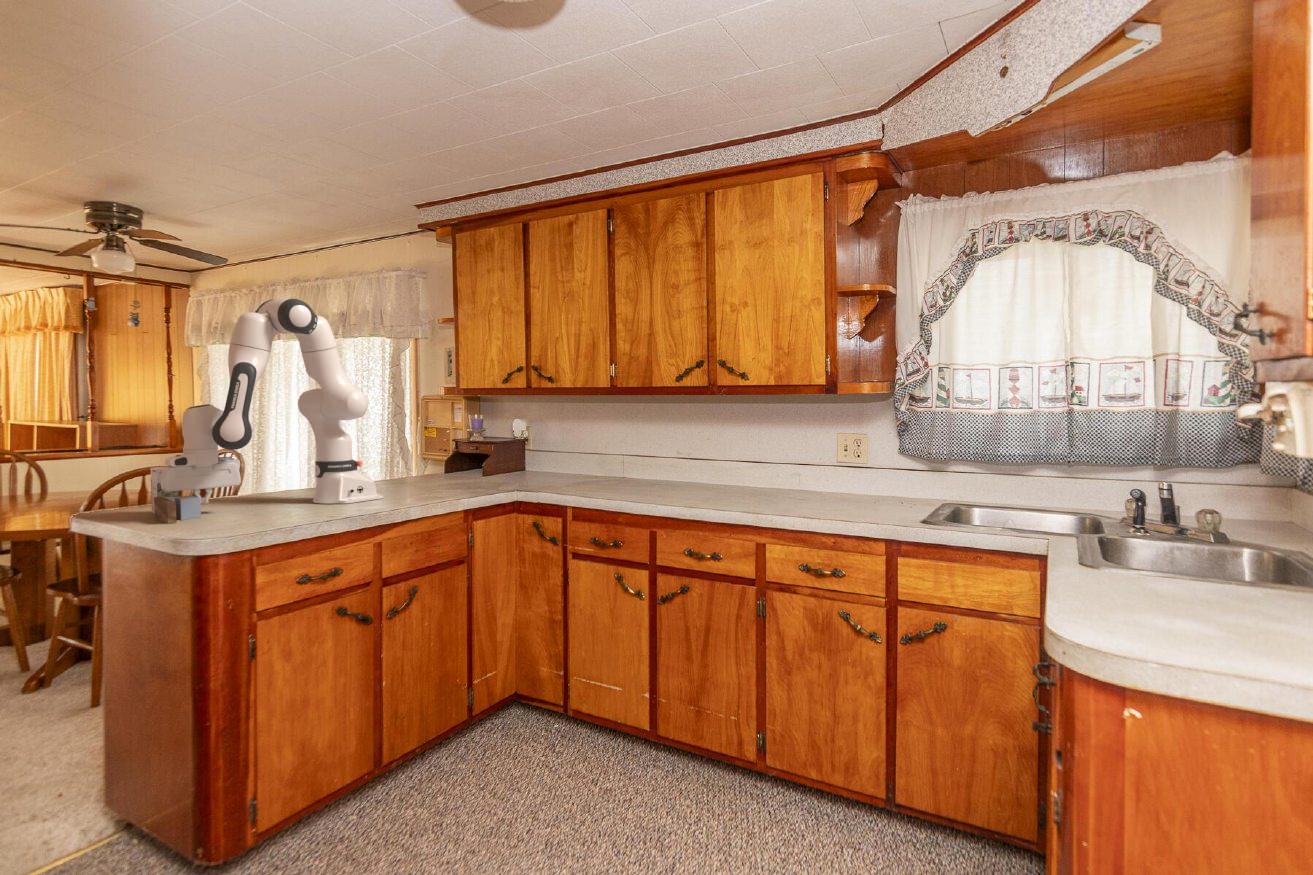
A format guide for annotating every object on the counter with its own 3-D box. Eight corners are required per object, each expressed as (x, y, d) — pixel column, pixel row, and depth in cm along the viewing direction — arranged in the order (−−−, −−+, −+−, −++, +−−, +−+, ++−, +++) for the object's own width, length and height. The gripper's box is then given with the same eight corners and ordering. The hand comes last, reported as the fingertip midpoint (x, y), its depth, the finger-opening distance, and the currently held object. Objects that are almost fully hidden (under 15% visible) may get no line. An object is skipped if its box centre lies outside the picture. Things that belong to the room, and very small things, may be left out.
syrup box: (173, 511, 217) (171, 465, 216) (179, 513, 213) (177, 466, 212) (151, 513, 212) (149, 466, 211) (157, 515, 209) (155, 468, 208)
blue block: (194, 514, 209) (194, 495, 209) (201, 517, 205) (200, 497, 204) (175, 517, 206) (174, 497, 205) (181, 519, 201) (180, 499, 201)
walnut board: (162, 516, 207) (161, 496, 207) (176, 522, 196) (175, 502, 196) (154, 517, 206) (153, 497, 205) (168, 523, 195) (167, 502, 194)
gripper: (236, 455, 217) (238, 498, 218) (158, 459, 202) (160, 506, 203) (243, 456, 212) (244, 500, 213) (163, 461, 197) (165, 508, 198)
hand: (203, 503), depth 208 cm, fingers closed
